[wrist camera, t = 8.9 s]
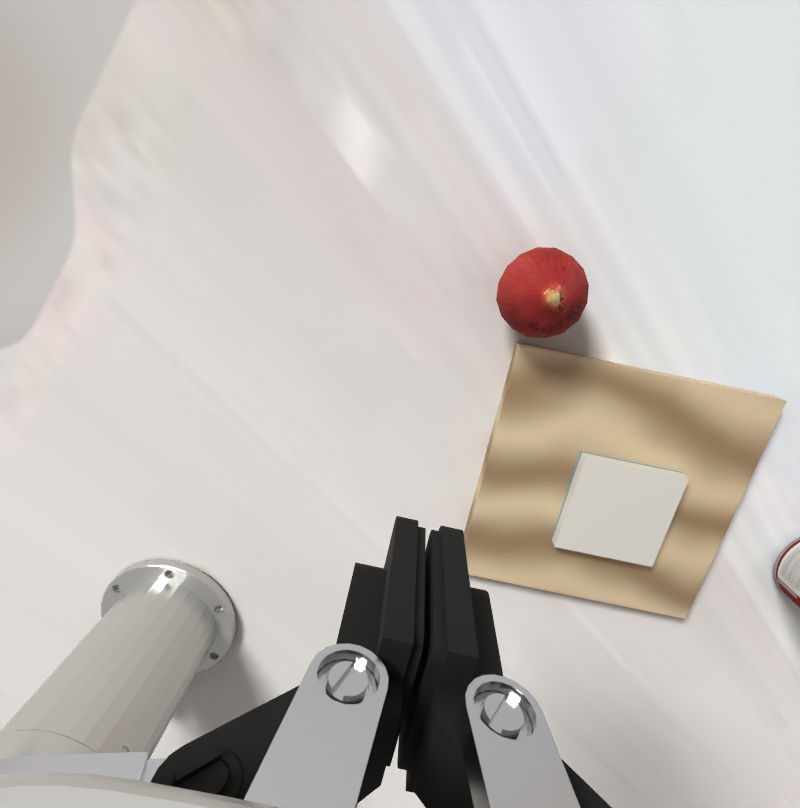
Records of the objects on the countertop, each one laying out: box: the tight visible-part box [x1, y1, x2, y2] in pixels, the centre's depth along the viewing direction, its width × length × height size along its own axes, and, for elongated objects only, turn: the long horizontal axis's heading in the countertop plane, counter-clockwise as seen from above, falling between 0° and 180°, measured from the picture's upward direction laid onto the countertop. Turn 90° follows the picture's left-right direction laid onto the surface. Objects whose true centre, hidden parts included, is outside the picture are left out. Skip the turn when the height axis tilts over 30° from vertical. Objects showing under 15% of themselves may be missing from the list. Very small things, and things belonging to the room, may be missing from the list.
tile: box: [551, 451, 689, 567], centre depth 38 cm, size 8×1×8 cm
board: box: [464, 343, 786, 619], centre depth 39 cm, size 20×20×2 cm
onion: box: [496, 247, 589, 338], centre depth 32 cm, size 6×6×8 cm
